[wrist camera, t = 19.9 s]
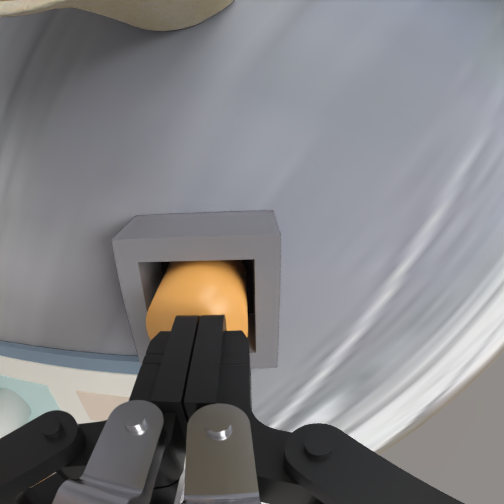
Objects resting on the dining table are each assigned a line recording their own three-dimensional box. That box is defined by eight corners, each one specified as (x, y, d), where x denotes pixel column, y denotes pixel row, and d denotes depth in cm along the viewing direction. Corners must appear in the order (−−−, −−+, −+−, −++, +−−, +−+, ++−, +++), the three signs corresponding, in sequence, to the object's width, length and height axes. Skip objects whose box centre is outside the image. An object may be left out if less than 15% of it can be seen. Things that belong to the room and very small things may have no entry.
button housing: (273, 210, 14) (280, 233, 11) (271, 327, 16) (277, 367, 13) (135, 215, 14) (111, 239, 11) (155, 328, 16) (141, 366, 13)
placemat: (197, 358, 17) (195, 366, 16) (218, 469, 22) (218, 476, 21) (-53, 329, 16) (-57, 333, 16) (9, 432, 21) (6, 436, 21)
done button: (245, 239, 14) (246, 284, 10) (247, 310, 15) (249, 367, 12) (163, 241, 14) (137, 285, 10) (173, 311, 15) (156, 366, 12)
